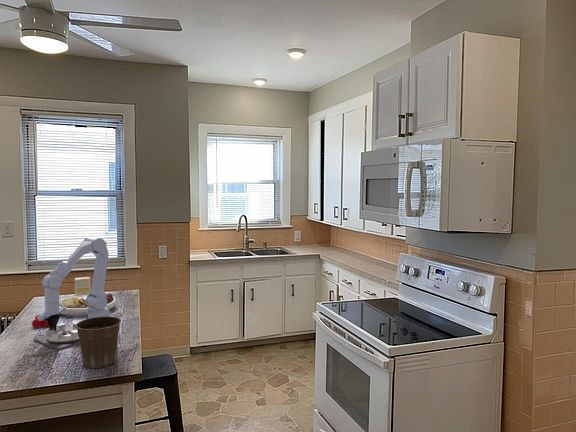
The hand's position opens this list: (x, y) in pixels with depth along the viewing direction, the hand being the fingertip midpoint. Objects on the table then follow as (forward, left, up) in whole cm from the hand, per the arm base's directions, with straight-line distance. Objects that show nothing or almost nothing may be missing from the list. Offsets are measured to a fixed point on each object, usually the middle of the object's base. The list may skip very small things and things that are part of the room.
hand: (52, 331), depth 197 cm
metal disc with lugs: (-4, +6, -2) cm, 7 cm away
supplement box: (-46, -53, -4) cm, 70 cm away
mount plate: (-4, +6, -3) cm, 8 cm away
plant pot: (+3, +41, -4) cm, 41 cm away
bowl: (-35, -31, -4) cm, 47 cm away
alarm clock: (-8, -23, -4) cm, 25 cm away
